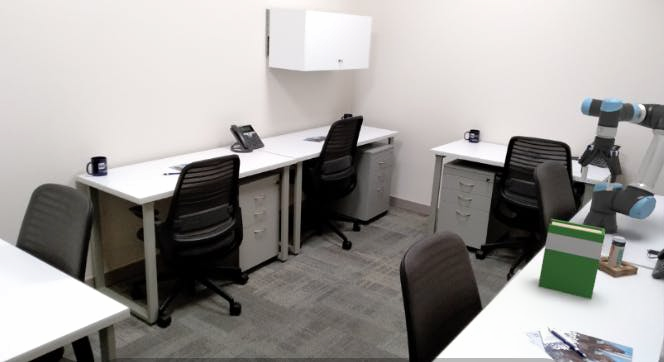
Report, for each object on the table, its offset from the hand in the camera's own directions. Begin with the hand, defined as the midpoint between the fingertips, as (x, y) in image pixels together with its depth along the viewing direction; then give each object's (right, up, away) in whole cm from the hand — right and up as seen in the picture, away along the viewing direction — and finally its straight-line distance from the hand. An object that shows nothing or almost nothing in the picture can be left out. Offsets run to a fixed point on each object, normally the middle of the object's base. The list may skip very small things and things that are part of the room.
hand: (595, 185), depth 224 cm
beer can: (0, -32, -13) cm, 35 cm away
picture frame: (0, -33, -13) cm, 36 cm away
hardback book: (-27, -37, -32) cm, 56 cm away
